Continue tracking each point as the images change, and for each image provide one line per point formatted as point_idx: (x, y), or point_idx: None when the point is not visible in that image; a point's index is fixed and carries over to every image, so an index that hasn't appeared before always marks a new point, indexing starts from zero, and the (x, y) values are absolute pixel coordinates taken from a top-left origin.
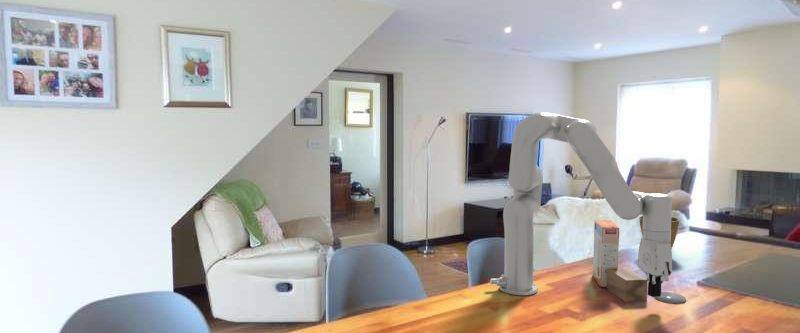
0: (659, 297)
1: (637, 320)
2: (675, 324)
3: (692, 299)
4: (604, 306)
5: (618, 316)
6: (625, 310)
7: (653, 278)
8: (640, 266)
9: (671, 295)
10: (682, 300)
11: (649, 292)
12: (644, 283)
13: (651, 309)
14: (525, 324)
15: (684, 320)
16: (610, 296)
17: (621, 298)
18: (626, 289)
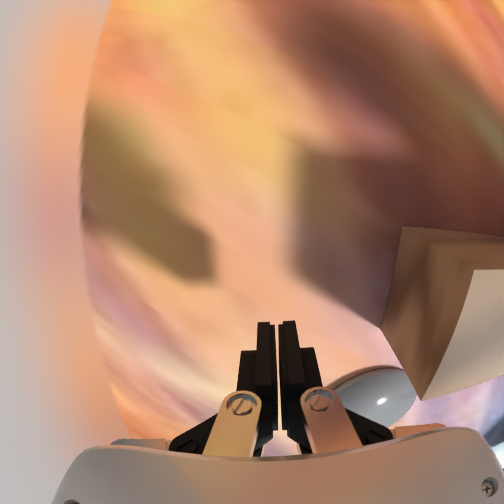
0: (376, 382)
1: (139, 142)
2: (102, 287)
3: None
4: (350, 72)
5: (199, 71)
6: (281, 147)
7: (237, 434)
8: (432, 461)
9: (374, 417)
10: None
11: (282, 334)
12: (419, 371)
13: (276, 293)
14: None
15: (145, 343)
16: (464, 194)
17: (433, 229)
18: (435, 251)
